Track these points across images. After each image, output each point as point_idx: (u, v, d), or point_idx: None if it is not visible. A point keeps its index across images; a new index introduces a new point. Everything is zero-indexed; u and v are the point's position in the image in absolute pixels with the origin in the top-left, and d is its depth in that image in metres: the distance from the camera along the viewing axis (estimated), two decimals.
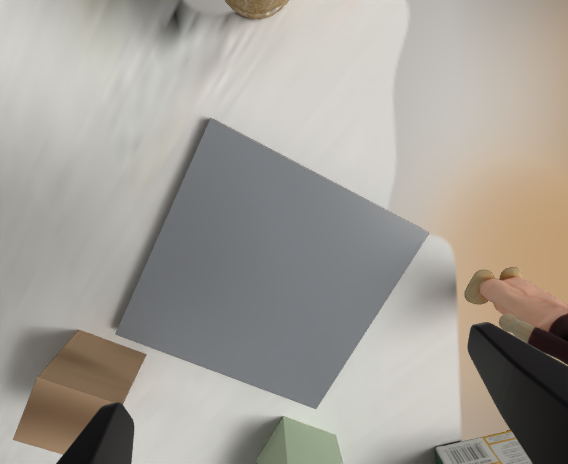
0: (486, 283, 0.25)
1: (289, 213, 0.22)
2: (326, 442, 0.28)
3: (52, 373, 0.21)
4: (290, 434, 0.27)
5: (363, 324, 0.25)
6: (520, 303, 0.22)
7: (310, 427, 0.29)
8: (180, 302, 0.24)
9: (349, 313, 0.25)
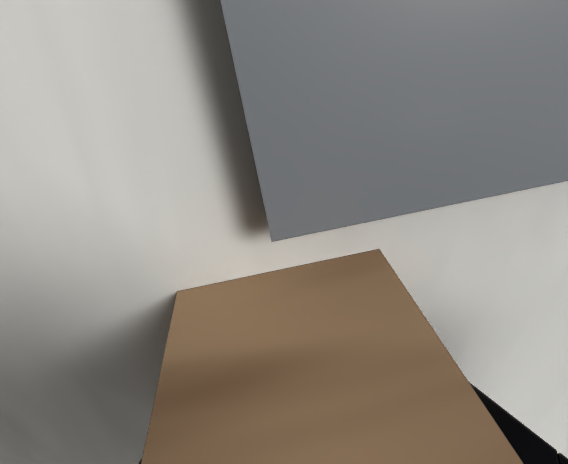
0: None
1: None
2: None
3: None
4: None
5: None
6: None
7: None
8: None
9: None
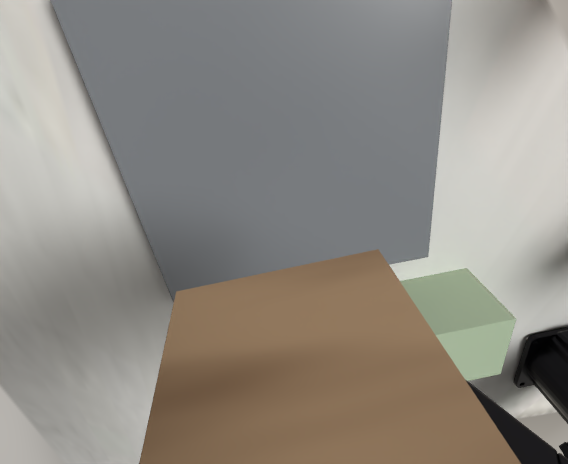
0: None
1: (243, 50, 0.15)
2: (459, 281, 0.23)
3: None
4: (414, 295, 0.23)
5: (430, 130, 0.18)
6: None
7: (433, 276, 0.24)
8: (207, 239, 0.19)
9: (404, 128, 0.17)
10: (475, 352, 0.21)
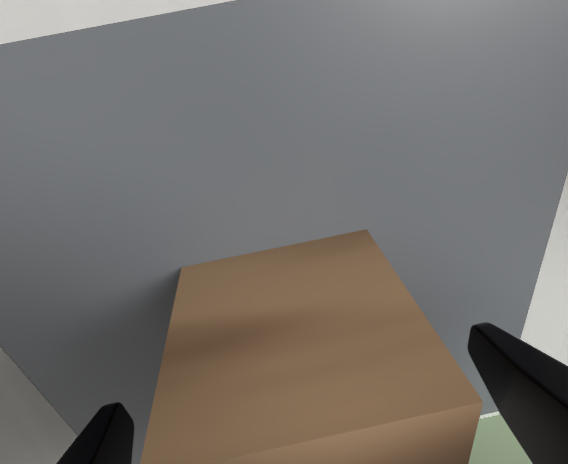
0: None
1: (205, 169, 0.08)
2: None
3: (180, 429, 0.05)
4: (477, 457, 0.16)
5: (527, 264, 0.11)
6: None
7: (499, 418, 0.17)
8: None
9: (485, 264, 0.10)
10: None
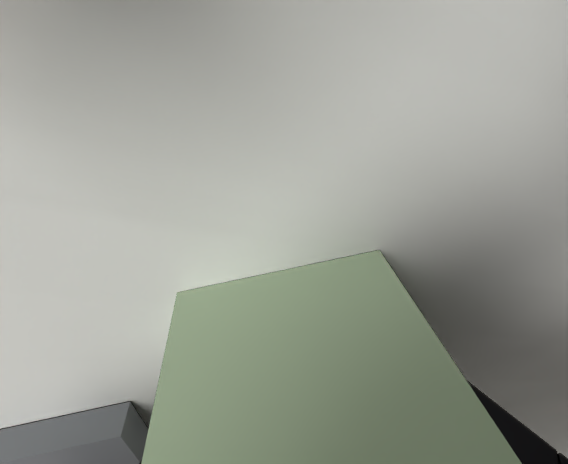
0: None
1: None
2: None
3: None
4: None
5: None
6: None
7: None
8: None
9: None
10: None
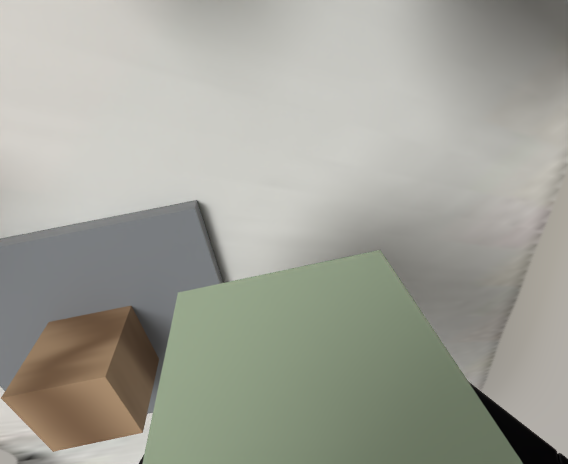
0: None
1: None
2: None
3: None
4: None
5: (47, 245, 0.18)
6: None
7: None
8: None
9: (54, 267, 0.19)
10: None
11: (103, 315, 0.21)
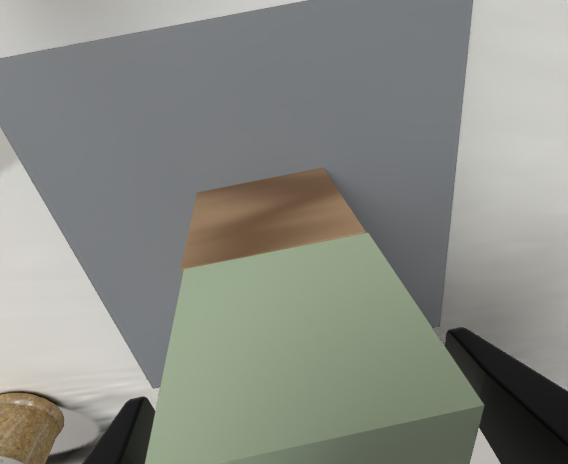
0: None
1: (165, 278, 0.15)
2: None
3: None
4: None
5: (228, 33, 0.11)
6: None
7: None
8: None
9: (228, 83, 0.12)
10: None
11: (285, 179, 0.13)
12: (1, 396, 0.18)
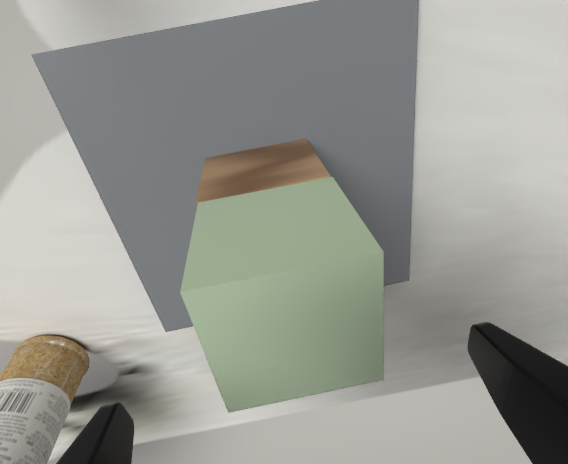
0: None
1: (178, 232, 0.19)
2: None
3: None
4: None
5: (230, 31, 0.14)
6: None
7: None
8: None
9: (230, 69, 0.15)
10: (285, 333, 0.09)
11: (275, 147, 0.17)
12: (38, 337, 0.22)
